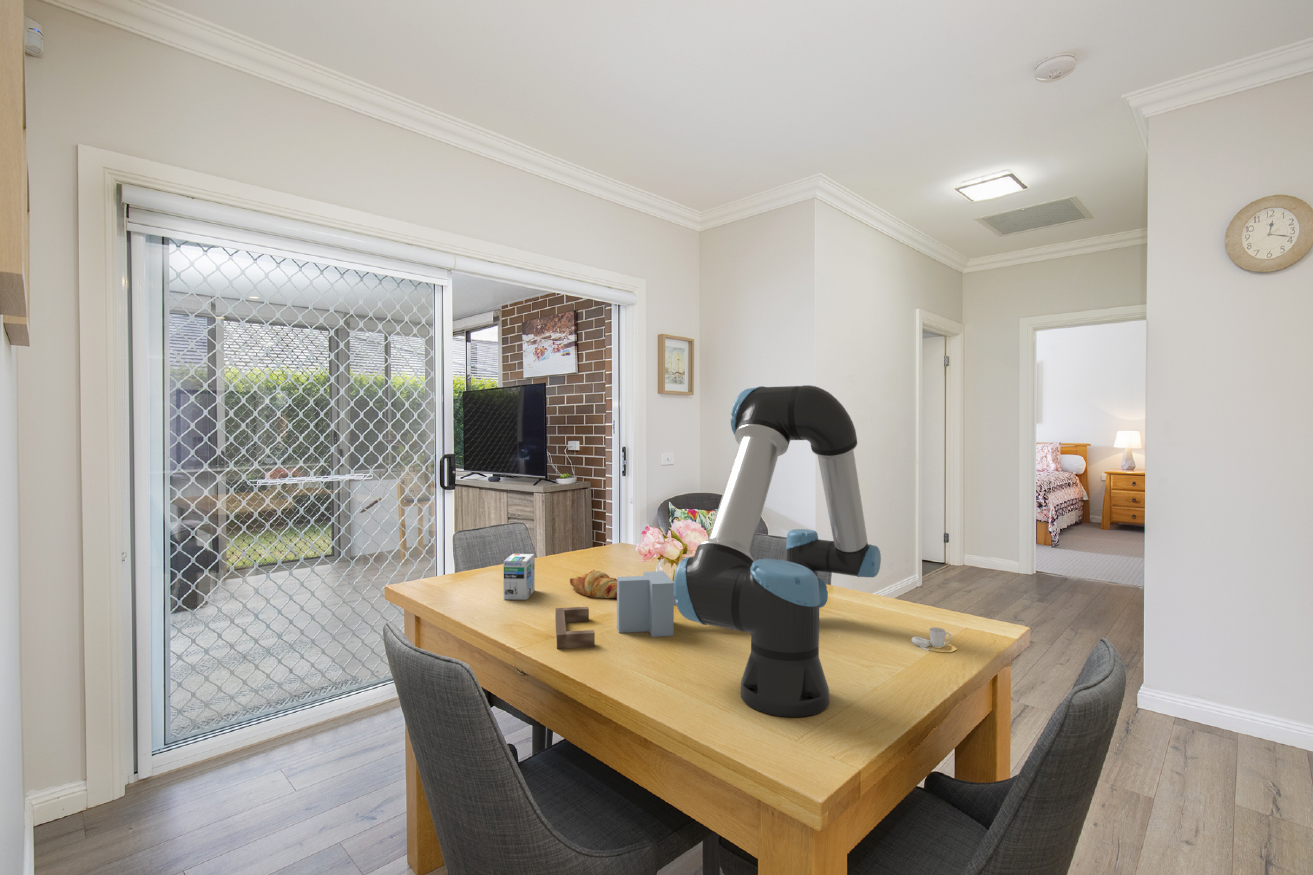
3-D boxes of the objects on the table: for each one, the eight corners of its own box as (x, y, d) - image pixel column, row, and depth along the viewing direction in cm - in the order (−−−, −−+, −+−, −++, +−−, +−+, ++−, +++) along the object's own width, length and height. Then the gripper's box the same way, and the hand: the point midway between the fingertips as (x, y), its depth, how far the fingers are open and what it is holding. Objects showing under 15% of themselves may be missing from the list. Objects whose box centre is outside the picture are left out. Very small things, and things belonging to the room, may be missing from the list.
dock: (588, 618, 154) (588, 606, 154) (594, 646, 134) (594, 632, 134) (555, 620, 152) (555, 608, 152) (557, 648, 132) (557, 634, 132)
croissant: (632, 610, 173) (641, 582, 176) (613, 600, 166) (622, 571, 168) (576, 596, 185) (585, 570, 188) (555, 587, 178) (564, 560, 181)
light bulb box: (527, 600, 170) (527, 561, 170) (502, 600, 170) (502, 560, 170) (535, 590, 181) (535, 553, 180) (512, 590, 181) (512, 553, 181)
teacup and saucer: (907, 647, 135) (908, 628, 135) (921, 638, 141) (921, 620, 141) (950, 657, 129) (950, 638, 129) (962, 648, 135) (962, 629, 135)
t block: (663, 619, 153) (663, 571, 153) (673, 635, 141) (673, 583, 141) (615, 622, 151) (615, 572, 151) (621, 638, 139) (621, 585, 139)
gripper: (773, 618, 145) (674, 623, 141) (755, 603, 158) (663, 607, 154) (773, 586, 145) (674, 590, 141) (755, 573, 158) (664, 577, 154)
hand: (669, 599), depth 148 cm, fingers closed
